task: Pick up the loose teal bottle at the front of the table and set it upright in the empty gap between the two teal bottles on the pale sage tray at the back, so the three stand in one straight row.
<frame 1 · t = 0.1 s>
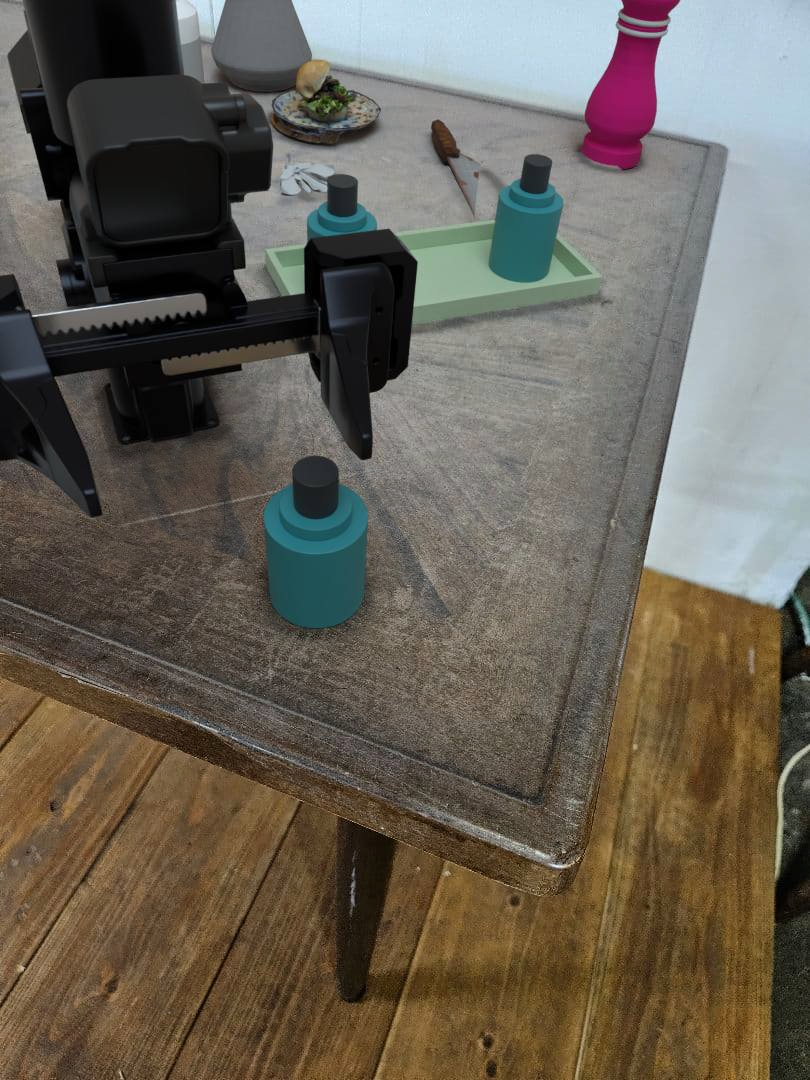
hand: (237, 477, 27), 17 cm above the table, tool horizontal, fingers open, 9 cm apart
kitchen knife: (470, 179, 83), on the table
pepper mill: (609, 159, 89), on the table
bottle loose: (317, 590, 45), on the table
plate of food: (326, 125, 90), on the table
spray bottle: (176, 133, 86), on the table
coffee pot: (221, 80, 97), on the table
bottle row b: (341, 293, 65), resting on tray
bottle row a: (518, 266, 70), resting on tray
flower: (315, 191, 79), on the table
tray: (432, 285, 68), on the table
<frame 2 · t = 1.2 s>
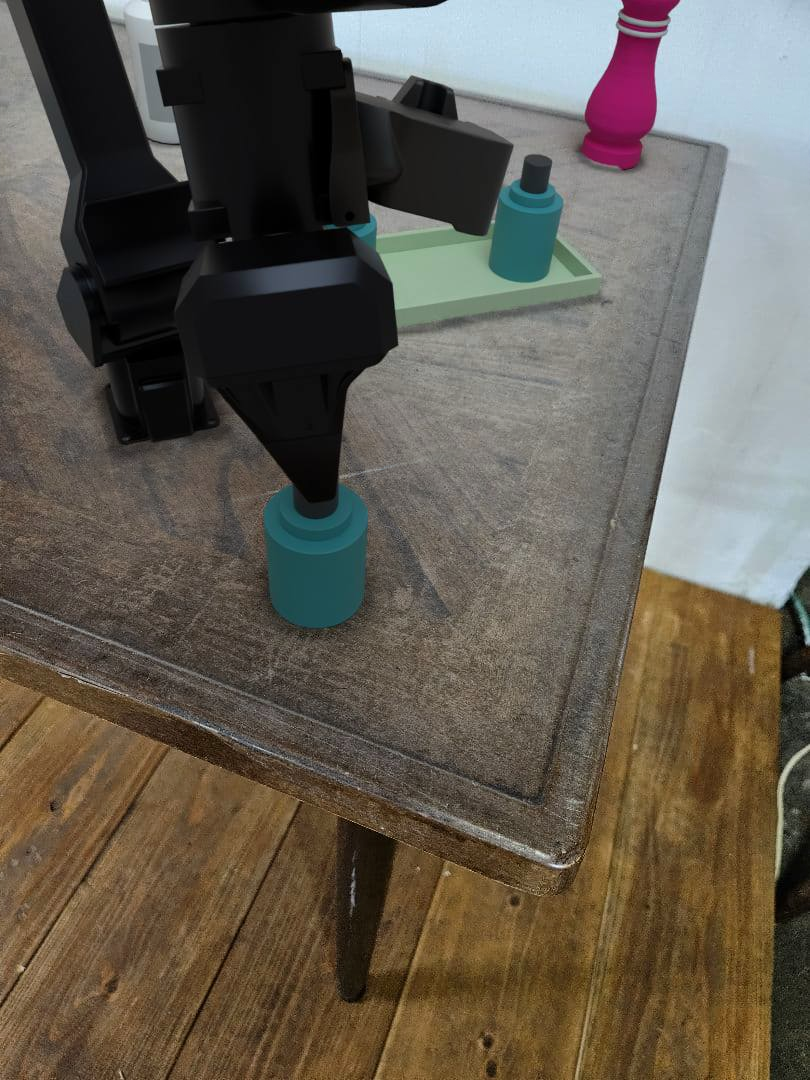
hand: (315, 445, 35), 12 cm above the table, tool tilted 15°, fingers open, 9 cm apart
nothing on the table moved.
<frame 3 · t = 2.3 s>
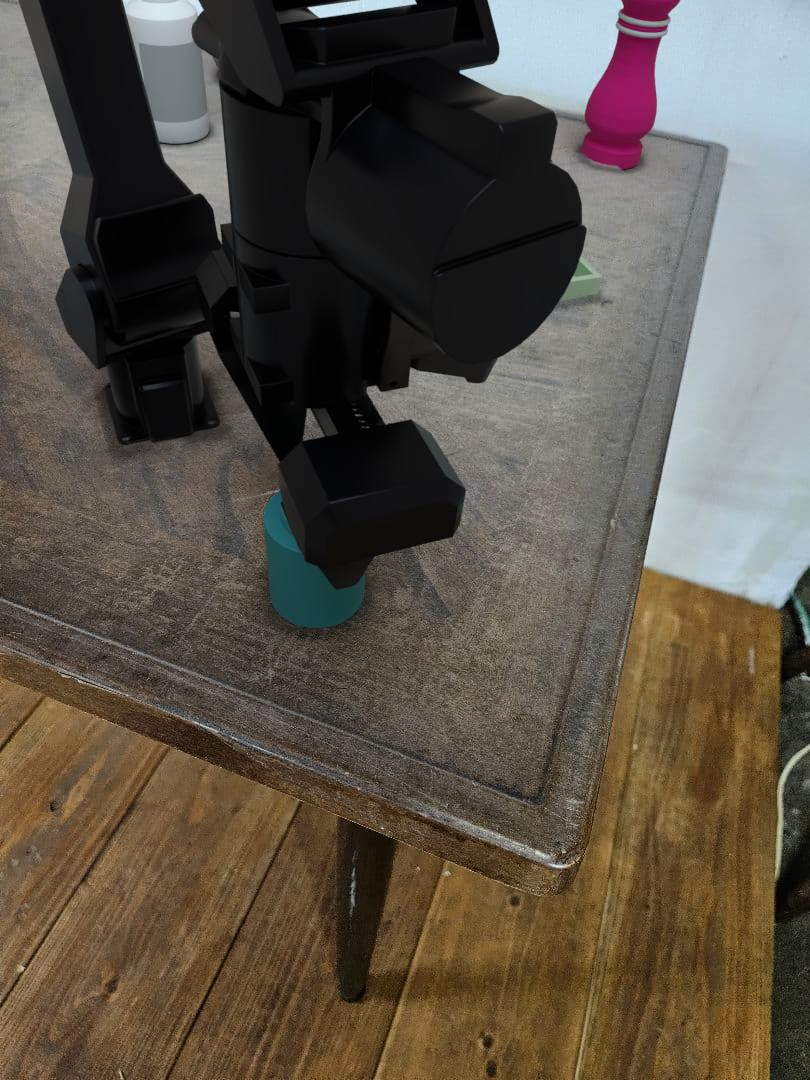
hand: (315, 518, 41), 6 cm above the table, tool pointing down, fingers open, 9 cm apart
nothing on the table moved.
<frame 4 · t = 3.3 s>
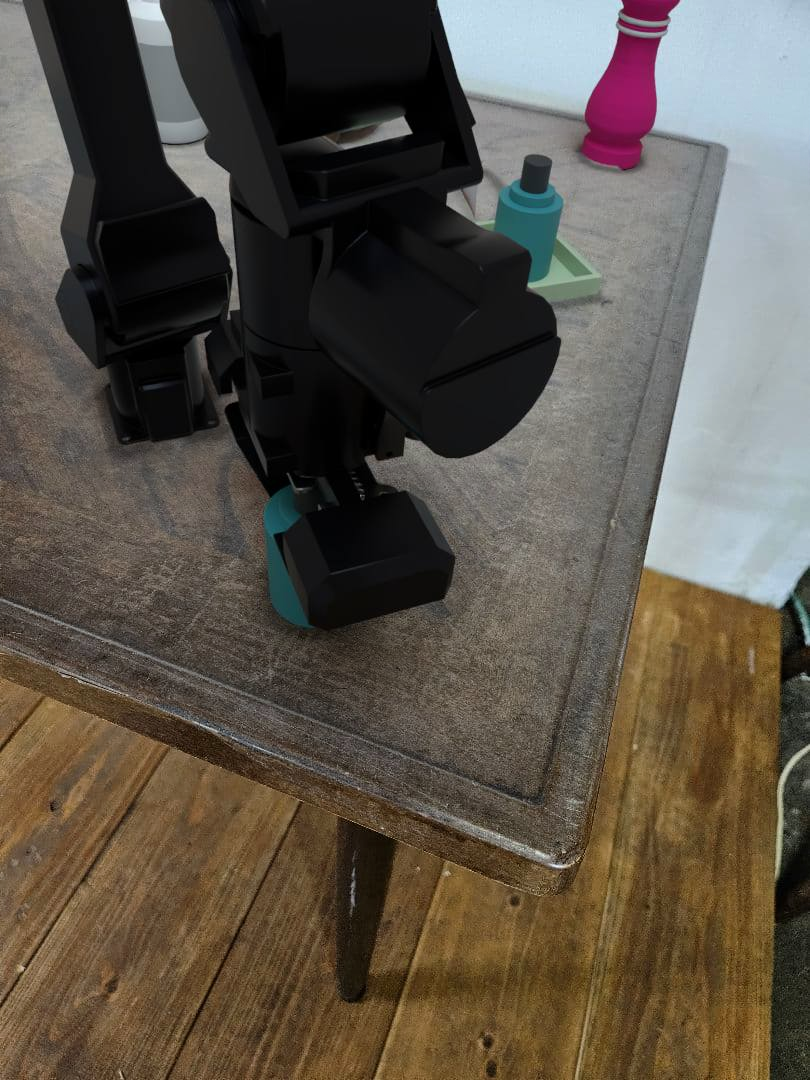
hand: (316, 567, 44), 2 cm above the table, tool pointing down, fingers closed on bottle loose, 5 cm apart
bottle loose: (317, 590, 45), on the table, touching gripper
everything else where it was.
when the fingers open (3 cm above the table, at t = 10.2 s): bottle loose stays where it is, resting on tray.
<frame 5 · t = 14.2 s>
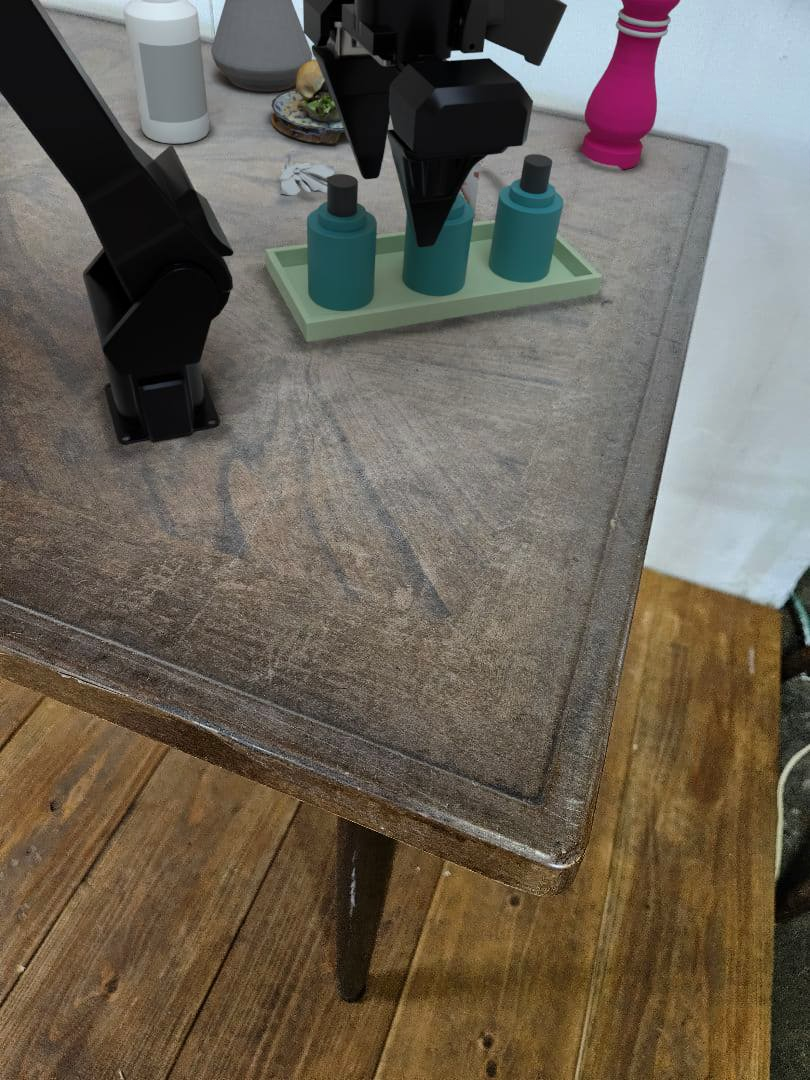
hand: (396, 209, 51), 12 cm above the table, tool pointing down, fingers open, 9 cm apart
bottle loose: (433, 279, 68), resting on tray
everything else where it was.
at the end: bottle loose 0.0 cm off-centre in the tray, point 0.5 cm above the tray's base; bottle loose tilted 0°; bottle row a moved 0.0 cm from its start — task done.
